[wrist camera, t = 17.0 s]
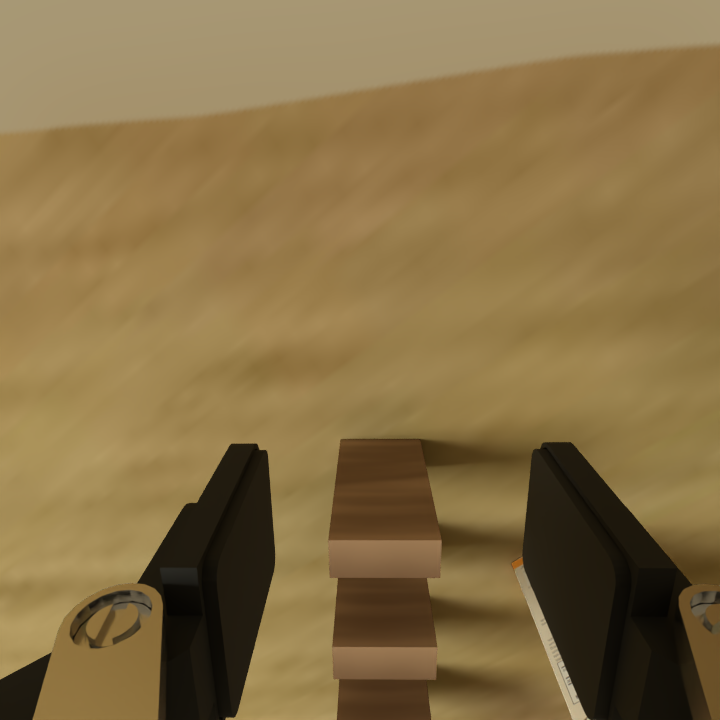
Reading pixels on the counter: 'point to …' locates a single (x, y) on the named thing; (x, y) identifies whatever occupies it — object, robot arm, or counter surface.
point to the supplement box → (549, 644)
